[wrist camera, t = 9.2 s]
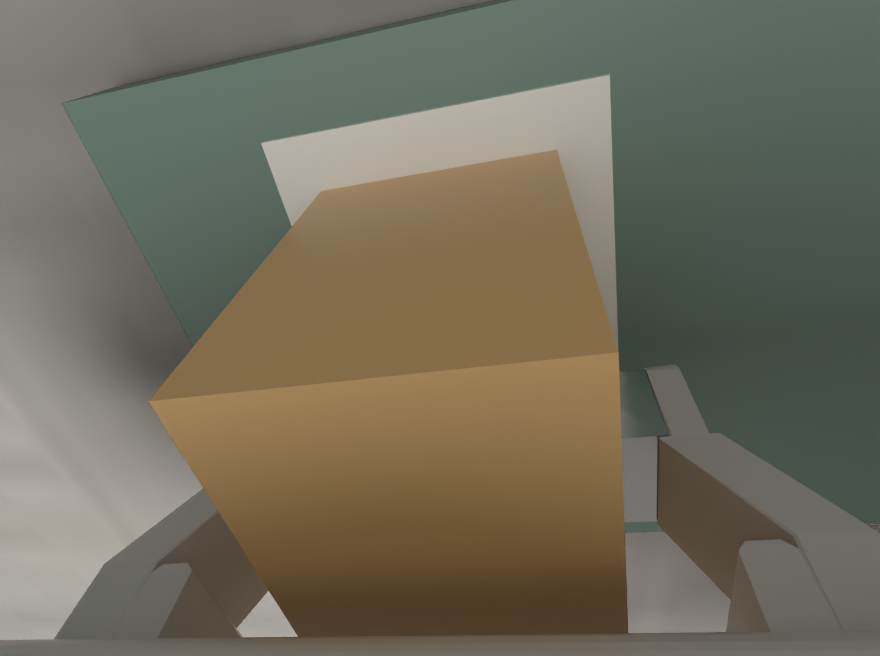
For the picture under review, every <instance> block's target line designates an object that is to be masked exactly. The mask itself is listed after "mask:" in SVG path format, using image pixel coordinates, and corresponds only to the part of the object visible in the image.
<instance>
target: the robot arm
mask: <svg viewBox="0 0 880 656" xmlns="http://www.w3.org/2000/svg"><path fill="white" fill-rule="evenodd" d="M619 381H620V410H621V439H622V468H623V497H624V522H654V521H658V525H659V526H660V527H661V528H662V529H663V530H664V531H665V532H666V533H667V534H668V535H669V536H670V537H671V538H672V539H673V541H674V542H675V543H676V544H677V545H678V546H679V547H680V548H681V549H682V550H683V551H684V552H685V553H686V554H687V555H688V556H689V557H690V558H691V559H692V560H693V561H694V562H695V563H696V564H697V565H698V566H699V567H700V569H701V570H702V571H703V572H704V573H705V574H706V575H707V576H708V577H709V578H710V579H711V580H712V581H713V582H714V583H715V584H716V585H717V586H718V587H719V588H720V589H721V590H722V591H723V592H724V593H725V594H726V595H727V597H728V598H729V599H730V600H731V604H730V610H729V617H728V623H727V630H726V632H709V633H624V634H539V635H453V636H347V637H246V638H243V637H242V635H241V634H240V633H239V631H238V630H237V629H236V628H237V627H238V626H239V625H240V623H241V622H242V621H243V620H244V619H245V618H246V616H247V615H248V614H249V613H250V612H251V610H252V609H253V608H254V607H255V606H256V605H257V603H258V602H259V601H260V600H261V599H262V598H263V596H264V595H265V594H266V593H267V592H268V588H267V587H266V585H265V584H264V582H263V581H262V579H261V577H260V576H259V574H258V573H257V571H256V570H255V568H254V566H253V565H252V563H251V562H250V560H249V559H248V557H247V555H246V554H245V552H244V551H243V549H242V548H241V546H240V544H239V543H238V541H237V540H236V538H235V537H234V535H233V533H232V532H231V530H230V529H229V527H228V526H227V524H226V523H225V521H224V519H223V518H222V516H221V515H220V513H219V512H218V510H217V508H216V507H215V505H214V504H213V502H212V501H211V499H210V497H209V496H208V494H207V493H206V491H205V490H204V488H203V489H202V490H201V491H200V492H198V493H197V494H196V495H194V496H193V497H192V498H190V499H189V500H188V501H186V502H185V503H184V504H182V505H181V506H180V507H178V508H177V509H176V510H175V511H173V512H172V513H171V514H169V515H168V516H167V517H165V518H164V519H163V520H161V521H160V522H159V523H157V524H156V525H155V526H154V527H152V528H151V529H150V530H148V531H147V532H146V533H144V534H143V535H142V536H140V537H139V538H138V539H136V540H135V541H134V542H133V543H131V544H130V545H129V546H127V547H126V548H125V549H123V550H122V551H121V552H119V553H118V554H117V555H115V556H114V557H113V558H112V559H110V560H109V561H108V562H106V563H105V564H104V565H103V567H102V568H101V570H100V571H99V573H98V574H97V576H96V577H95V579H94V580H93V582H92V583H91V585H90V586H89V588H88V589H87V591H86V592H85V594H84V595H83V597H82V598H81V600H80V601H79V603H78V604H77V606H76V607H75V608H74V610H73V611H72V613H71V614H70V616H69V617H68V619H67V620H66V622H65V623H64V625H63V626H62V628H61V629H60V631H59V632H58V634H57V635H56V637H55V638H54V640H0V656H880V533H879V532H878V531H876V530H875V529H873V528H871V527H870V526H868V525H867V524H865V523H863V522H862V521H860V520H859V519H857V518H855V517H854V516H852V515H851V514H849V513H847V512H846V511H844V510H843V509H841V508H839V507H838V506H836V505H835V504H833V503H831V502H830V501H828V500H827V499H825V498H823V497H822V496H820V495H819V494H817V493H815V492H814V491H812V490H811V489H809V488H807V487H806V486H804V485H803V484H801V483H799V482H798V481H796V480H795V479H793V478H791V477H790V476H788V475H787V474H785V473H783V472H782V471H780V470H779V469H777V468H775V467H774V466H772V465H771V464H769V463H767V462H766V461H764V460H763V459H761V458H759V457H758V456H756V455H755V454H753V453H751V452H750V451H748V450H747V449H745V448H743V447H742V446H740V445H739V444H737V443H735V442H734V441H732V440H731V439H729V438H727V437H726V436H724V435H723V434H721V433H709V431H708V429H707V427H706V425H705V423H704V420H703V418H702V416H701V414H700V412H699V409H698V407H697V405H696V403H695V401H694V399H693V396H692V394H691V392H690V390H689V388H688V385H687V383H686V381H685V379H684V377H683V375H682V372H681V370H680V368H679V367H678V366H677V365H675V364H673V365H665V366H657V367H648V368H643V369H639V370H629V371H619Z"/></svg>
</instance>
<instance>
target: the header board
mask: <svg viewBox="0 0 880 656" xmlns="http://www.w3.org/2000/svg"><path fill="white" fill-rule="evenodd" d="M62 105H63V107H64V109H65V111H66V113H67V115H68V116H69V118H70V120H71V122H72V124H73V126H74V128H75V129H76V131H77V133H78V135H79V137H80V139H81V140H82V142H83V144H84V146H85V148H86V150H87V152H88V153H89V155H90V157H91V159H92V161H93V163H94V165H95V166H96V168H97V170H98V172H99V174H100V176H101V178H102V179H103V181H104V183H105V185H106V187H107V189H108V190H109V192H110V194H111V196H112V198H113V200H114V202H115V203H116V205H117V207H118V209H119V211H120V213H121V215H122V216H123V218H124V220H125V222H126V224H127V226H128V228H129V229H130V231H131V233H132V235H133V237H134V239H135V240H136V242H137V244H138V246H139V248H140V250H141V252H142V253H143V255H144V257H145V259H146V261H147V263H148V265H149V266H150V268H151V270H152V272H153V274H154V276H155V278H156V279H157V281H158V283H159V285H160V287H161V289H162V290H163V292H164V294H165V296H166V298H167V300H168V302H169V303H170V305H171V307H172V309H173V311H174V313H175V315H176V316H177V318H178V320H179V322H180V324H181V326H182V328H183V329H184V331H185V333H186V335H187V337H188V339H189V340H190V342H191V344H192V346H194V345H195V344H196V343H197V342H198V340H199V339H200V338H201V337H202V336H203V334H204V333H205V332H206V331H207V329H208V328H209V327H210V326H211V325H212V323H213V322H214V321H215V320H216V318H217V317H218V316H219V315H220V314H221V312H222V311H223V310H224V309H225V308H226V306H227V305H228V304H229V303H230V301H231V300H232V299H233V298H234V297H235V295H236V294H237V293H238V292H239V290H240V289H241V288H242V287H243V286H244V284H245V283H246V282H247V281H248V279H249V278H250V277H251V276H252V275H253V273H254V272H255V271H256V270H257V269H258V267H259V266H260V265H261V264H262V262H263V261H264V260H265V259H266V258H267V256H268V255H269V254H270V253H271V251H272V250H273V249H274V248H275V247H276V245H277V244H278V243H279V242H280V241H281V239H282V238H283V237H284V236H285V234H286V233H287V232H288V231H289V230H290V228H291V227H292V226H293V225H294V223H295V222H296V221H297V220H298V219H299V217H300V216H301V215H302V214H303V212H304V211H305V210H306V209H307V208H308V206H309V205H310V204H311V203H312V202H313V200H314V199H315V198H316V197H317V195H318V194H319V193H320V192H321V191H324V190H329V189H335V188H341V187H346V186H352V185H358V184H363V183H369V182H375V181H380V180H386V179H392V178H397V177H403V176H409V175H414V174H420V173H426V172H431V171H437V170H443V169H448V168H454V167H460V166H465V165H471V164H477V163H482V162H488V161H494V160H499V159H505V158H511V157H516V156H522V155H528V154H533V153H539V152H545V151H550V150H556V149H557V153H558V156H559V159H560V163H561V166H562V169H563V172H564V176H565V179H566V182H567V185H568V189H569V192H570V195H571V199H572V202H573V205H574V208H575V212H576V215H577V218H578V221H579V225H580V228H581V231H582V235H583V238H584V241H585V244H586V248H587V251H588V254H589V257H590V261H591V264H592V267H593V271H594V274H595V277H596V280H597V284H598V287H599V290H600V293H601V297H602V300H603V303H604V307H605V310H606V313H607V316H608V320H609V323H610V326H611V329H612V333H613V336H614V339H615V343H616V346H617V349H618V352H619V371H629V370H639V369H643V368H648V367H657V366H665V365H673V364H675V365H677V366H678V367H679V368H680V370H681V372H682V375H683V377H684V379H685V381H686V383H687V385H688V388H689V390H690V392H691V394H692V396H693V399H694V401H695V403H696V405H697V407H698V409H699V412H700V414H701V416H702V418H703V420H704V423H705V425H706V427H707V429H708V431H709V433H721V434H723V435H724V436H726V437H727V438H729V439H731V440H732V441H734V442H735V443H737V444H739V445H740V446H742V447H743V448H745V449H747V450H748V451H750V452H751V453H753V454H755V455H756V456H758V457H759V458H761V459H763V460H764V461H766V462H767V463H769V464H771V465H772V466H774V467H775V468H777V469H779V470H780V471H782V472H783V473H785V474H787V475H788V476H790V477H791V478H793V479H795V480H796V481H798V482H799V483H801V484H803V485H804V486H806V487H807V488H809V489H811V490H812V491H814V492H815V493H817V494H819V495H820V496H822V497H823V498H825V499H827V500H828V501H830V502H831V503H833V504H835V505H836V506H838V507H839V508H841V509H843V510H844V511H846V512H847V513H849V514H851V515H852V516H854V517H855V518H857V519H859V520H860V521H862V522H863V523H868V522H880V0H493V1H489V2H485V3H480V4H476V5H472V6H467V7H463V8H458V9H454V10H450V11H445V12H441V13H437V14H432V15H428V16H424V17H419V18H415V19H411V20H406V21H402V22H397V23H393V24H389V25H384V26H380V27H376V28H371V29H367V30H363V31H358V32H354V33H350V34H345V35H341V36H336V37H332V38H328V39H323V40H319V41H315V42H310V43H306V44H302V45H297V46H293V47H288V48H284V49H280V50H275V51H271V52H267V53H262V54H258V55H254V56H249V57H245V58H241V59H236V60H232V61H227V62H223V63H219V64H214V65H210V66H206V67H201V68H197V69H193V70H188V71H184V72H180V73H175V74H171V75H166V76H162V77H158V78H153V79H149V80H145V81H140V82H136V83H132V84H127V85H123V86H118V87H114V88H111V89H108V90H104V91H101V92H98V93H94V94H91V95H88V96H84V97H81V98H78V99H74V100H71V101H68V102H64V103H62ZM624 526H625V533H630V532H654V531H664V530H663V529H662V528H661V527H660V526H659V525H658V521H654V522H624Z"/></svg>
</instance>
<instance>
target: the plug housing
mask: <svg viewBox="0 0 880 656" xmlns="http://www.w3.org/2000/svg"><path fill="white" fill-rule="evenodd" d="M148 402H149V403H150V405H151V407H152V408H153V410H154V411H155V413H156V414H157V416H158V417H159V419H160V421H161V422H162V424H163V425H164V427H165V428H166V430H167V432H168V433H169V435H170V436H171V438H172V439H173V441H174V443H175V444H176V446H177V447H178V449H179V450H180V452H181V454H182V455H183V457H184V458H185V460H186V461H187V463H188V465H189V466H190V468H191V469H192V471H193V472H194V474H195V475H196V477H197V479H198V480H199V482H200V483H201V485H202V486H203V488H204V490H205V491H206V493H207V494H208V496H209V497H210V499H211V501H212V502H213V504H214V505H215V507H216V508H217V510H218V512H219V513H220V515H221V516H222V518H223V519H224V521H225V523H226V524H227V526H228V527H229V529H230V530H231V532H232V533H233V535H234V537H235V538H236V540H237V541H238V543H239V544H240V546H241V548H242V549H243V551H244V552H245V554H246V555H247V557H248V559H249V560H250V562H251V563H252V565H253V566H254V568H255V570H256V571H257V573H258V574H259V576H260V577H261V579H262V581H263V582H264V584H265V585H266V587H267V588H268V590H269V591H270V593H271V595H272V596H273V598H274V599H275V601H276V602H277V604H278V606H279V607H280V609H281V610H282V612H283V613H284V615H285V617H286V618H287V620H288V621H289V623H290V624H291V626H292V628H293V629H294V631H295V632H296V634H297V635H298V637H347V636H453V635H539V634H624V633H628V613H627V584H626V555H625V526H624V497H623V468H622V439H621V410H620V381H619V352H618V349H617V346H616V343H615V339H614V336H613V333H612V329H611V326H610V323H609V320H608V316H607V313H606V310H605V307H604V303H603V300H602V297H601V293H600V290H599V287H598V284H597V280H596V277H595V274H594V271H593V267H592V264H591V261H590V257H589V254H588V251H587V248H586V244H585V241H584V238H583V235H582V231H581V228H580V225H579V221H578V218H577V215H576V212H575V208H574V205H573V202H572V199H571V195H570V192H569V189H568V185H567V182H566V179H565V176H564V172H563V169H562V166H561V163H560V159H559V156H558V153H557V149H556V150H550V151H545V152H539V153H533V154H528V155H522V156H516V157H511V158H505V159H499V160H494V161H488V162H482V163H477V164H471V165H465V166H460V167H454V168H448V169H443V170H437V171H431V172H426V173H420V174H414V175H409V176H403V177H397V178H392V179H386V180H380V181H375V182H369V183H363V184H358V185H352V186H346V187H341V188H335V189H329V190H324V191H321V192H320V193H319V194H318V195H317V197H316V198H315V199H314V200H313V202H312V203H311V204H310V205H309V206H308V208H307V209H306V210H305V211H304V212H303V214H302V215H301V216H300V217H299V219H298V220H297V221H296V222H295V223H294V225H293V226H292V227H291V228H290V230H289V231H288V232H287V233H286V234H285V236H284V237H283V238H282V239H281V241H280V242H279V243H278V244H277V245H276V247H275V248H274V249H273V250H272V251H271V253H270V254H269V255H268V256H267V258H266V259H265V260H264V261H263V262H262V264H261V265H260V266H259V267H258V269H257V270H256V271H255V272H254V273H253V275H252V276H251V277H250V278H249V279H248V281H247V282H246V283H245V284H244V286H243V287H242V288H241V289H240V290H239V292H238V293H237V294H236V295H235V297H234V298H233V299H232V300H231V301H230V303H229V304H228V305H227V306H226V308H225V309H224V310H223V311H222V312H221V314H220V315H219V316H218V317H217V318H216V320H215V321H214V322H213V323H212V325H211V326H210V327H209V328H208V329H207V331H206V332H205V333H204V334H203V336H202V337H201V338H200V339H199V340H198V342H197V343H196V344H195V345H194V346H193V348H192V349H191V350H190V351H189V353H188V354H187V355H186V356H185V357H184V359H183V360H182V361H181V362H180V364H179V365H178V366H177V367H176V368H175V370H174V371H173V372H172V373H171V374H170V376H169V377H168V378H167V379H166V381H165V382H164V383H163V384H162V385H161V387H160V388H159V389H158V390H157V392H156V393H155V394H154V395H153V396H152V398H151V399H150V400H149V401H148Z"/></svg>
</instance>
